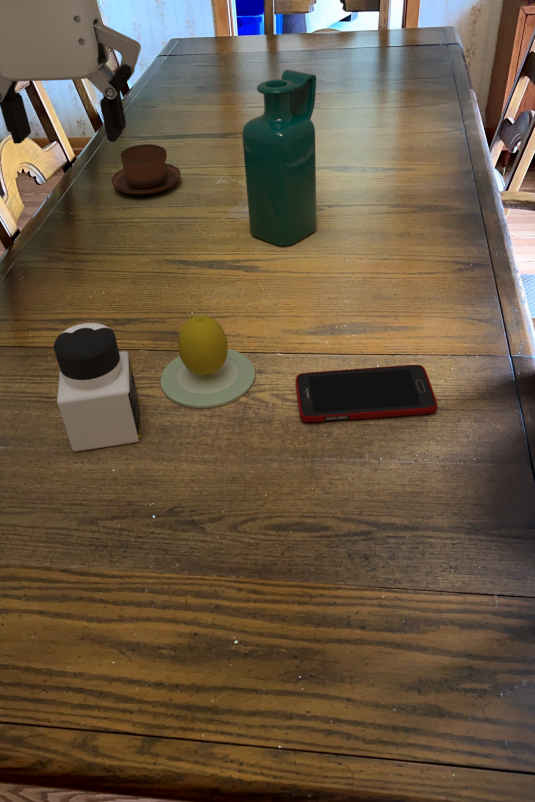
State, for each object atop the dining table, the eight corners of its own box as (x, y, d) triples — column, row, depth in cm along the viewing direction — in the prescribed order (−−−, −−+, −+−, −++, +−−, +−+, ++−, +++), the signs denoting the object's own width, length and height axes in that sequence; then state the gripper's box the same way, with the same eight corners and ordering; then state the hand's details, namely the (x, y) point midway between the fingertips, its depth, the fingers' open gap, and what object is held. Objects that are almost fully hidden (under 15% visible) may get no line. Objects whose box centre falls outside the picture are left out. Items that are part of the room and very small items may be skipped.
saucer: (151, 407, 80) (150, 403, 79) (171, 349, 88) (170, 345, 88) (249, 409, 78) (248, 406, 78) (260, 350, 87) (259, 347, 86)
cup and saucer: (127, 172, 132) (121, 138, 128) (189, 173, 130) (185, 139, 126) (103, 199, 123) (95, 164, 119) (169, 202, 121) (164, 166, 117)
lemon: (193, 357, 86) (184, 300, 80) (237, 363, 84) (231, 305, 79) (175, 385, 82) (165, 327, 76) (221, 392, 80) (213, 333, 75)
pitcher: (285, 250, 106) (278, 95, 91) (244, 234, 110) (231, 84, 96) (327, 225, 111) (326, 75, 97) (286, 211, 115) (280, 66, 101)
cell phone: (438, 414, 76) (439, 407, 75) (300, 424, 76) (300, 418, 75) (423, 370, 82) (423, 363, 81) (294, 379, 82) (294, 373, 81)
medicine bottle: (141, 443, 75) (119, 350, 68) (72, 453, 75) (42, 361, 67) (139, 400, 81) (119, 310, 73) (75, 410, 80) (48, 320, 72)
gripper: (131, -77, 62) (161, 122, 73) (-55, -66, 64) (1, 126, 75) (108, -64, 57) (144, 150, 68) (-96, -53, 59) (-29, 153, 70)
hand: (69, 137), depth 71 cm, fingers open, 9 cm apart
